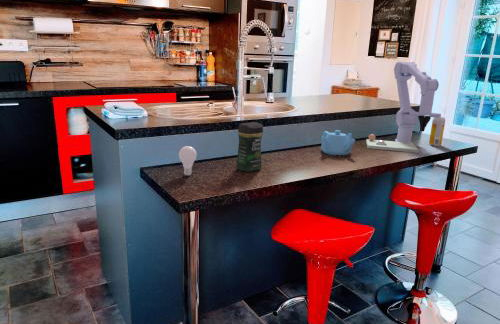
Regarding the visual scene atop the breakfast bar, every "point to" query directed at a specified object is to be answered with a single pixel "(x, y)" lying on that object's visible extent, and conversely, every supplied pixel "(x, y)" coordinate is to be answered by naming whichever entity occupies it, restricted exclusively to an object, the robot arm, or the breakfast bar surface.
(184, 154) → the lightbulb
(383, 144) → the steel ball
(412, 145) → the hole plate
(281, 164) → the breakfast bar surface
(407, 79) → the robot arm
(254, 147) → the coffee jar
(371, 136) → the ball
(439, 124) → the beer can
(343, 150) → the teapot
